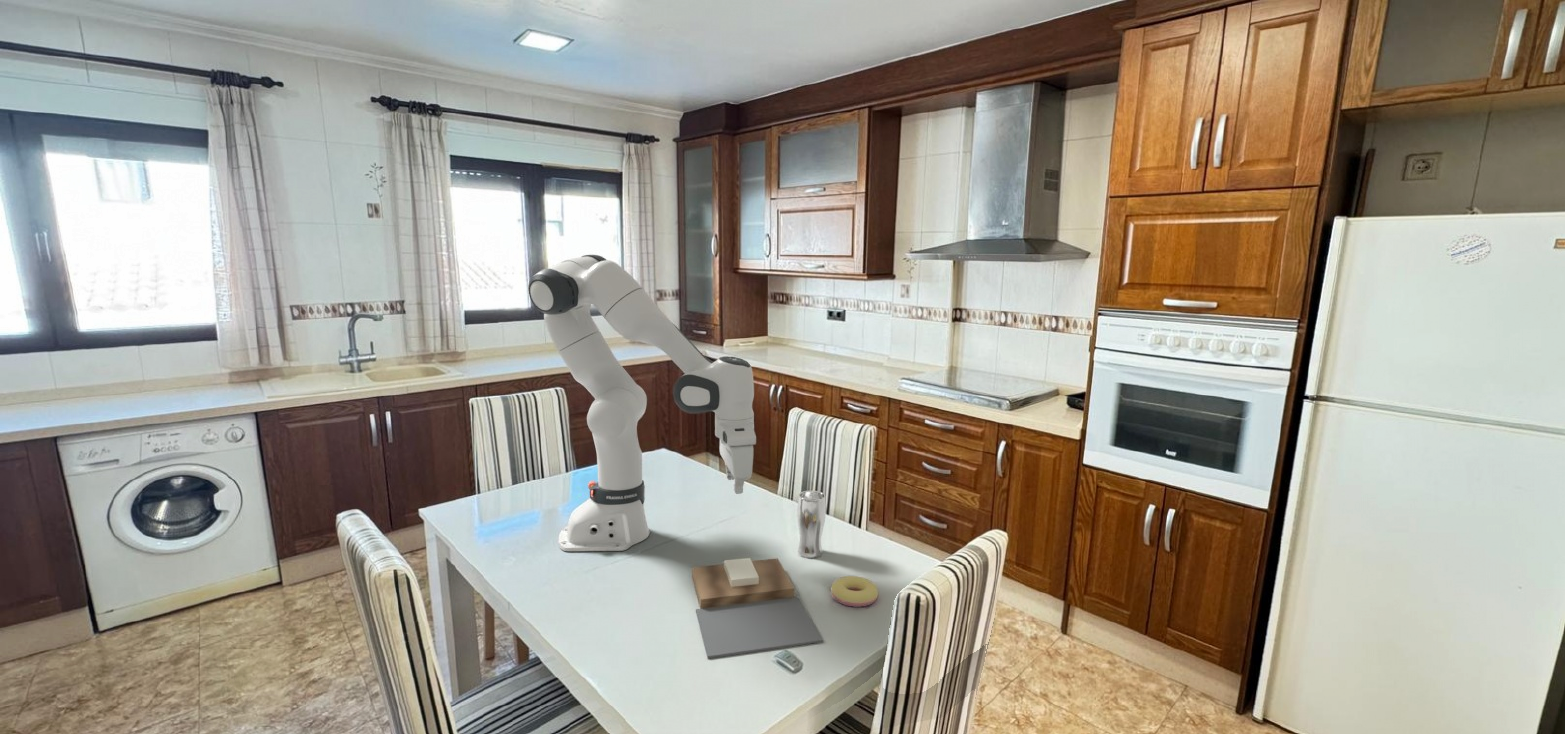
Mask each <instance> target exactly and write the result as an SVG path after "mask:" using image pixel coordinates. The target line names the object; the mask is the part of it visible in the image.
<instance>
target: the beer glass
mask: <svg viewBox="0 0 1565 734" xmlns="http://www.w3.org/2000/svg"><path fill="white" fill-rule="evenodd" d="M826 502H827V501H826V494H825V493H823V492H822V491H819V490H804V491H801V492H800V493H798V501H797V511H796V512H797V513H796V514H797V515H796V517H797V525H798V531H799V544H798V549H797V553H798V555H799V556H800V557H802V558H805V557H806V558H807V559H815V558H816V557H817V558H819V557H821V556H822V555H823V548H822V535H823V531H824V526H825V521H826V514H827V513H826V511H827V505H826V504H827V503H826ZM817 558H816V559H817Z"/></svg>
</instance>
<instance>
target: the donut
mask: <svg viewBox="0 0 1565 734" xmlns="http://www.w3.org/2000/svg"><path fill="white" fill-rule="evenodd" d="M830 592H831V593H830V594H831V595H832V597H833V598H834V600H836V601H837V602H838V603H839V602H840V604H841V605H844V606H848V607H851V606H853V608H862V607H861V606H864V607H868V606H871V605H872V604H874V603H875V601H876V600H878V597H879V589H878V587H877V586H876V584H875V583H874V582H872V581H871V580H869V579H867V578H866V577H862V576H854V575H852V576H851V575H849V576H843V577H840V578H838V579H836V580H835V581H834V582H832V585H831V589H830ZM867 605H868V606H867Z"/></svg>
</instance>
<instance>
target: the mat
mask: <svg viewBox="0 0 1565 734" xmlns="http://www.w3.org/2000/svg"><path fill="white" fill-rule="evenodd" d="M695 612H696V617H697V621H698V624H699V629H700V633H701V637H702V641H703V645H704V649H705V654H706V658H707V660H708V659H715V658H716V657H717V658H722V656H723V657H730V656H736V655H744V654H749V653H758V652H764V651H770V650H776V649H777V650H779V649H784V648H785V647H786V648H792V646H793V647H798V646H797V645H800V646H805V645H804V644H807V645H812V643H814V644H819V643H820V642H821V643H823V642H824V639H823V638H822V635H821V634H820V632H819V631H818V629H817V627H816V625H815V624H814V622H813V619H812V618H811V616H810V614H809V613H808V611H807V609H806V607H805V605H804V603H803V602H802V600H801V598H800V596H794V597H790V598H782V599H774V600H766V601H758V602H750V603H741V604H733V605H725V606H717V607H709V608H700V607H699V608H695ZM810 643H811V644H810ZM821 643H820V644H821ZM729 655H730V656H729Z"/></svg>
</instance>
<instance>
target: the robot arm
mask: <svg viewBox="0 0 1565 734" xmlns="http://www.w3.org/2000/svg"><path fill="white" fill-rule="evenodd" d="M527 289H528V294H529V295H528V296H529V298H530V300H531V302H532V304H533V305H534V307H535V308H536V309H537V310H538V311H540V312H541V313H543V320H544V324H545V326H546V328H547V331H548V333H549V336H550V338H551V340H552V343H553V345H554V346H555V349H556V350H557V352H558V354H559V355H560V357H561V359H562V360H563V362H564V364H565V366H566V368H567V369H568V370H569V372H570V374H571V376H572V378H573V379H574V380H575V381H576V382H577V383H579V384H581V385H582V386H583V387H584V388H585V389H586V390H587V391H588V392H589V393H590V394H591V396H592V397H593V398H594V401H592V403H591V405H590V407H589V409H588V412H587V415H586V423H587V426H588V429H589V431H590V432H591V434H592V438H593V442H594V446H595V451H596V464H597V482H596V481H595V480H591V481H589V482H588V485H587V486H588V489H589V498H588V499H587V500H585V501H584V502H583V503H581V504H580V505H579V506H577V507H576V508H575V509H574V510H572V512H571V514H570V516H569V519H568V522H567V526H565V527H563V528H562V529H561V531H560V532H559V535H558V546H559V548H560V549H561V551H564V552H617V551H618V552H620V551H626V550H629V548H631V547H632V546H633V545H636V544H639V543H640V542H642V541H644V540H646V539H647V538H648V537H649V536H650V529H649V526H648V522H647V518H646V512H645V505H644V503H645V499H646V494H645V493H646V490H645V489H646V485H645V481H644V480H643V452H642V449H641V447H640V442H639V439H638V431H637V430H638V429H637V428H638V427H637V426H638V422H639V420H641V419H642V417H643V416H644V414H645V413H646V409H647V403H648V402H647V401H648V398H647V397H648V396H647V394H646V392H645V391H644V388H642V386H640V385H639V384H637V382H636V381H635V380H634V379H633V378H632V376H631V375H630V374H629V373H628V372H627V371H626V369H625V368H624V367H623V366H622V365H621V363H620V362H619V361H618V359H617V358H616V355H614V353H613V352H612V349H611V348H610V346H609V345H608V343H607V341H606V339H605V338H604V336H603V333H602V332H601V331H600V329H599V327H598V325H597V324H596V323H595V321H594V319H593V317H592V315H591V306H593V307H594V308H596V310H597V311H598V312H599V314H600V315H601V317H603V318H604V319H605V321H606V322H607V323H608V324H609V326H610V327H612V329H613V330H614V331H616V332H617V333H618V334H619V335H621V336H622V337H623V338H624V339H626V340H628V341H631V342H638V343H643V344H647V345H651V346H654V347H656V348H658V349H660V351H663V352H664V353H665V354H666V355H667V356H668V357H669V358H670V360H671V361H672V362H673V363H674V364H675V365H676V366H677V367H678V368H679V369H680V370H681V371H682V373H684V374H683V375H681V376H680V377H678V379H677V380H676V381H675V383H674V384H673V387H672V396H673V399H674V403H675V404H676V405H677V406H678V408H679V409H680V410H681V411H683V412H685V413H687V414H691V415H693V414H694V415H695V414H705V413H709V412H714V428H715V429H714V435H715V437H716V438H718V439H719V454H720V456H721V458H722V459H723V461H724V466H725V471H726V472H725V477H726V479H727V481H731V480H734V484H733V491H734V493H735V494H736V495H741V494H743V492H744V485H745V481H746V480H747V481H748V480H751V477H752V474H753V465H754V445H757V436H756V431H755V422H754V420H755V418H754V417H755V413H754V410H753V401H754V397H755V383H754V372H753V368H752V366H751V364H750V363H749V362H748V361H747V360H745V359H743V358H741V357H736V356H727V355H726V356H721V357H718V358H717V359H716V360H715V361H712V360H711V359H709V358H708V357H707V356H706V355H704V354H703V353H702V352H701V351H700V350H699V349H698V348H697V347H696V345H694V343H693V342H691V340H690V339H689V338H688V337H687V336H686V335H685V334H684V333H683V332H682V330H680V329H679V327H677V326H676V325H675V324H674V323H673V322H672V321H671V320H670V318H668V316H666V314H665V313H664V312H663V311H662V310H661V309H660V308H659V306H658V305H657V304H656V302H654V300H653V299H652V297H650V295H649V294H648V293H647V291H645V289H644V288H643V287H642V286H641V285H640V284H639V282H638V281H637V280H636V278H634V277H633V276H632V275H631V274H630V273H629V272H628V271H626V269H624V268H623V267H621V266H620V265H619V264H618V263H617V262H615V261H612V260H608V259H606V258H605V257H603V256H601V255H597V254H584V255H582V256H579V257H574V258H570V259H566V260H563V261H561V262H558V263H557V264H555V265H553V266H550V267H548V268H543V269H541V270H539V271H537V273H535V274H534V275H533V276H532V277H531V278H530V280H529V282H528V288H527Z"/></svg>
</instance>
